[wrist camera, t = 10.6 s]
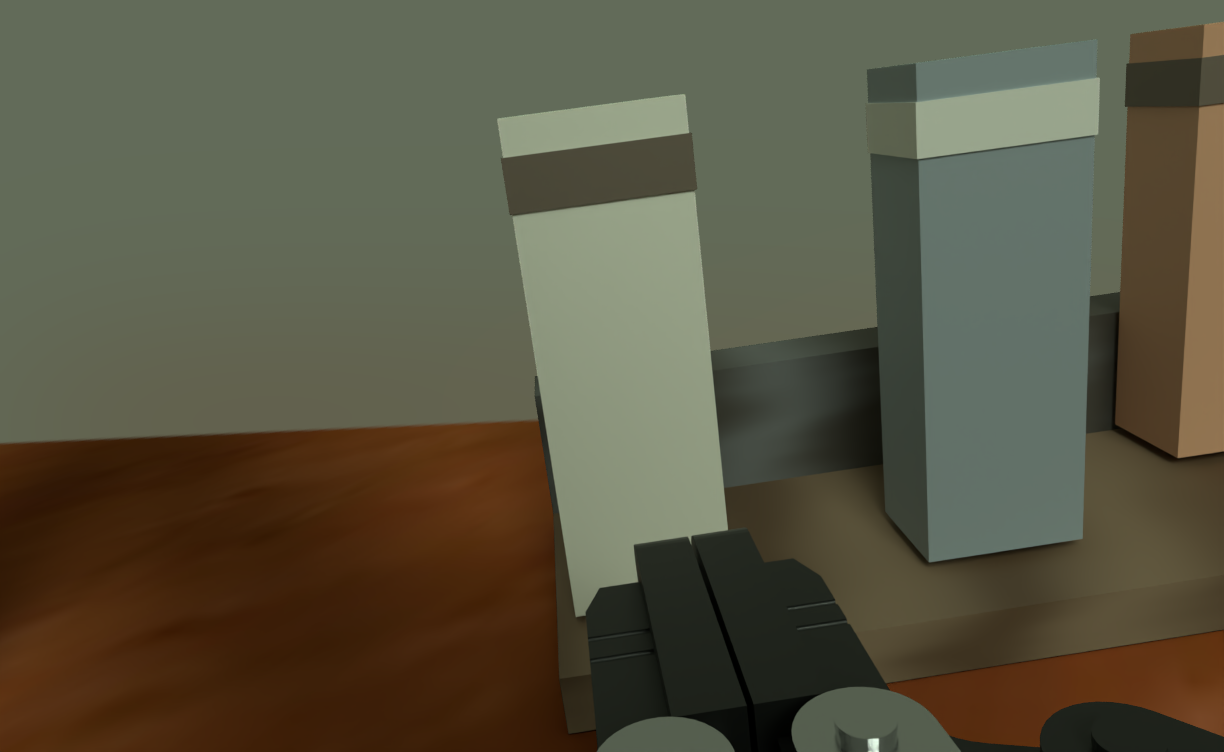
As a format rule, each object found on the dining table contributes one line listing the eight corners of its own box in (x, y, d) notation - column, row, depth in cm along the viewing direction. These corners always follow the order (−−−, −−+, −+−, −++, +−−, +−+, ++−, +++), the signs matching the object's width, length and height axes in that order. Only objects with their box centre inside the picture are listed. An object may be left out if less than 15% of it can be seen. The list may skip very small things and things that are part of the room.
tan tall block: (1177, 459, 26) (1203, 24, 23) (1112, 424, 29) (1128, 34, 26) (1311, 438, 27) (1357, 4, 23) (1233, 405, 29) (1264, 16, 26)
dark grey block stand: (568, 733, 21) (532, 520, 19) (558, 525, 31) (534, 376, 30) (1507, 584, 22) (1548, 368, 20) (1192, 429, 32) (1202, 280, 31)
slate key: (928, 563, 23) (914, 63, 19) (883, 511, 26) (864, 69, 22) (1085, 539, 23) (1100, 38, 19) (1023, 490, 26) (1026, 48, 22)
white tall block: (574, 618, 22) (494, 119, 19) (570, 558, 25) (500, 117, 22) (736, 593, 22) (687, 94, 19) (713, 536, 25) (667, 96, 22)
